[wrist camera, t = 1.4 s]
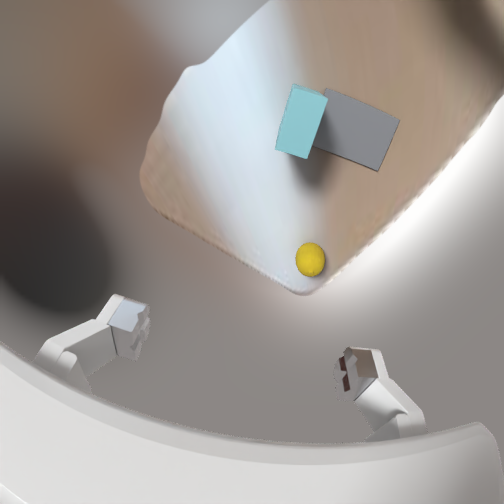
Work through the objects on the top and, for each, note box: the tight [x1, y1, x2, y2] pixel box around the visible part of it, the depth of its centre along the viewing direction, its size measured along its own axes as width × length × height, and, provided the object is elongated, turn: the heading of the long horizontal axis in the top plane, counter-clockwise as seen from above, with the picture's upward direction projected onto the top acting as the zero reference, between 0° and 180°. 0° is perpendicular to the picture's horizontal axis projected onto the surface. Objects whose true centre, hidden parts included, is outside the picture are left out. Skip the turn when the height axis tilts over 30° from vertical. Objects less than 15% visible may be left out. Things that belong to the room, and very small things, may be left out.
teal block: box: [275, 84, 328, 159], centre depth 33 cm, size 4×8×12 cm, turn 166°
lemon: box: [296, 243, 325, 277], centre depth 50 cm, size 6×6×8 cm
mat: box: [312, 88, 400, 171], centre depth 38 cm, size 13×10×1 cm
